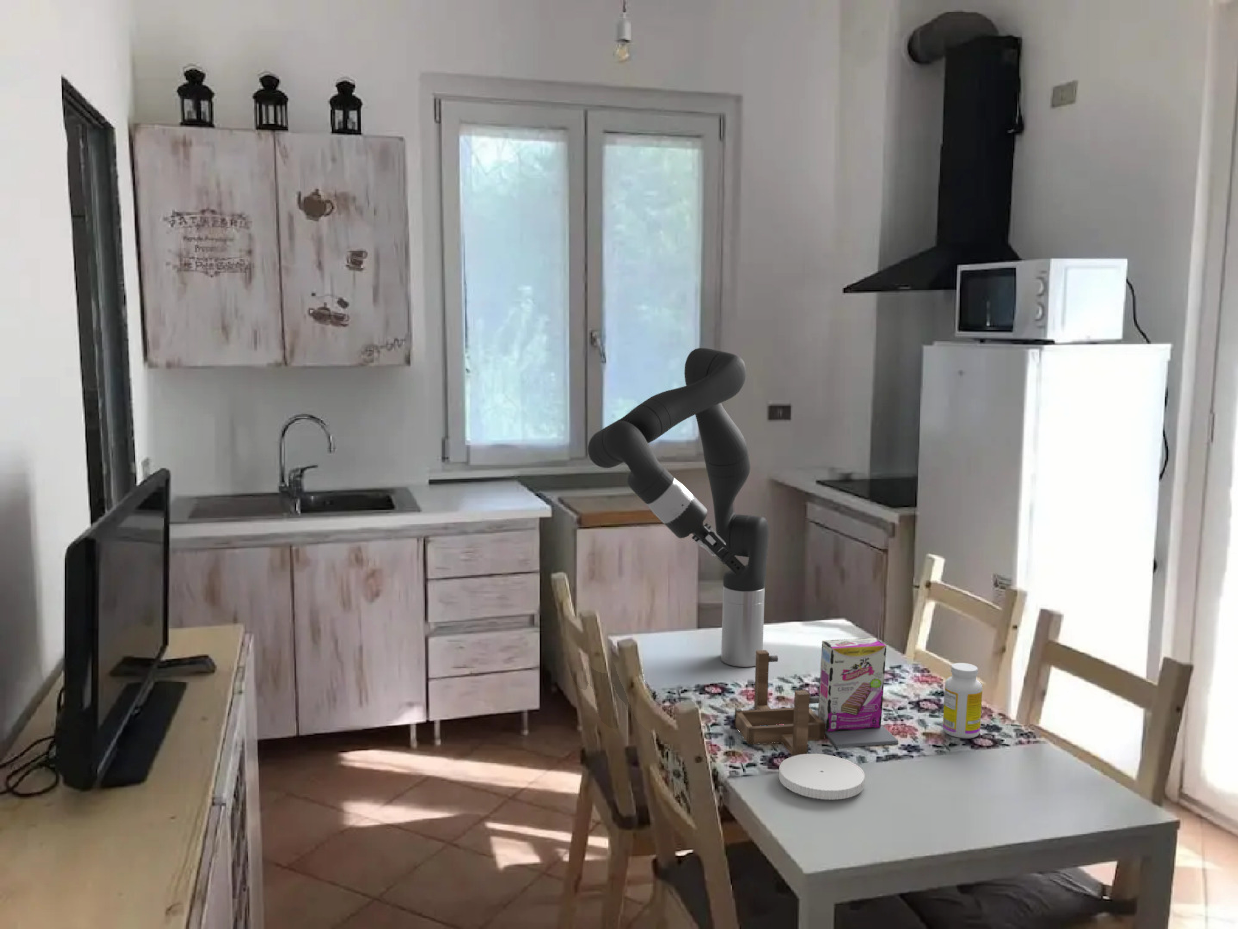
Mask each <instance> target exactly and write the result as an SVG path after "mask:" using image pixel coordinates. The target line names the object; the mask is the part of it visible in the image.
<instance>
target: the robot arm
mask: <svg viewBox="0 0 1238 929" xmlns="http://www.w3.org/2000/svg"><path fill="white" fill-rule="evenodd" d="M745 364H746V363H745V362H744V360H743V358H741V357H740V356H738V355H736V354H734V353H732V352H727V351H721V350H716V349H712V348H706V347H698V348H695V349H693V350H691V351H690V352H689V354H688V356H687V357H686V361H685V364H684V373H683V374H684V382H685V385H683V386H681V387H677V388H674V389H669V390H665V391H662V392H660V393H659V392H658V393H656V394H653V395H652V396H649V398H647V399H646V400H644V401H643V402H641V403H639V404H638V405H637V406H635V407H633V409H631V410H630V411H629V412H628V413H627V414H625V415H624V416H623V417H621V418H619V419H618V420H616V421H613V422H612V423H611V424H608V425H607V426H605V427H603V428H602V429H600V430H599V431H597V432H596V433H594V434H593V435H592V436H591V437H590V439H589V441H588V445H587V454H588V457H589V458H590V460H591V462H592V463H593V464H594V465H596V466H597V467H600V468H603V469H611V468H615V467H617V466H619V465H620V464H622V463H624V464H625V465H626V466H627V467H628V469H629V470H630V472H629V474H628V475H627V479H626V480H627V481H626V482H627V485H628V486H629V488H630V489H631V491H632V492H634V493H635V494H636V495H637V496H638V497H639V498H640V499H641V500H642V501H643V502H644V504H645V505H647V508H649V509H650V511H651V512H652V513H653V515H655V516H656V517H657V518H658V519H659V521H661V522H662V523H663V525H664V526H666V527H667V528H668V529H669V530H670V531H671V533H673V535H675V537H677V538H678V539H685V538H687V537H690V535H691V534H692V535H693V536H691V539H692V540H693V541H694V542H695V543H696V544H697V545H698V546H699V547H701V548H703V549H705V550H706V551H707V552H708V553H709V554H710V555H711V556H712V557H716V558H717V559H718V560H719V561H720V562H721V563H722V564H723V565H726V567H728V569H729V570H727V571H726V572H725V573H724V574H723V579H722V580H723V581H722V618H721V621H722V624H721V647H720V649H721V650H720V651H721V653H720V656H721V657H720V660H721V662H723V663H724V664H726V665H730V666H734V667H740V668H741V667H742V668H743V667H744V668H748V667H754V666H755V667H756V650H764V649H763V647H764V627H765V626H764V623H765V622H764V621H765V620H764V619H765V618H764V617H765V594H766V593H765V588H766V576H767V575H766V574H767V564H768V563H767V562H768V551H769V550H768V548H769V538H770V536H769V535H770V527H769V523H768V521H767V519H766V518H765V517H763V516H759V515H748V514H740V513H737V512H735V511H734V501H735V500H736V497H737V495H738V494H739V492H740V491H741V489H742V488H743V486H744V485H745V483H746V482H747V480H748V477H749V475H750V472H751V462H750V455H749V450H748V445H747V441H746V439H745V437H744V435H743V433H742V431H741V430H740V428H738V426H737V424H736V423H735V421H734V420H732V418H731V416H730V415H729V414H728V412H727V411H726V410H725V407H724V406H723V404H722V403H723V402H726V401H728V400H730V399H732V398H734V397H735V396H736V395H738V394H739V392H740V391H741V390H742V388H743V386H744V384H745V381H746V377H747V369H746V365H745ZM693 416H695V419H696V422H697V427H698V431H699V437H700V440H701V446H702V450H703V451H702V452H703V457H704V458H703V459H704V463H705V468H706V472H707V473H706V474H707V477H708V478H707V479H708V481H709V487H710V492H711V497H712V502H713V512H714V520H715V521H714V522H715V523H714V524H715V529H714V528H713V527H712V526H711V525H709V524H708V523H707V522H705V520H706V518H707V516H708V509H707V507H706V506H705V505H704V504H703V503H702V502H701V501H700V500H699V499H698V498H697V497H696V496H695V495H694V494H693V493H692V492H691V491H690V489H688V488H687V487H686V486H685V484H683V483H682V482H681V481H679V480H678V479H677V478H675V477H674V475H672V473H670V472H669V471H668V470H667V468H665V467H664V465H663V464H661V462H659V460H658V459H657V457H656V455H655V453H654V451H653V450H652V447H651V446H650V443H652V442H654V441H656V440H657V439H659V438H660V437H661V436H663V435H664V434H665V433H667V432H668V431H670V430H671V429H672V428H674V427H675V426H677V425H678V424H680V423H682V422H683V421H685V420H687V419H689V418H690V417H693ZM704 522H705V523H704ZM738 557H744V558H748V561H747V564H746V565H745V564H743V562H741V561H740V560H739V559H738Z"/></svg>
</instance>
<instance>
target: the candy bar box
mask: <svg viewBox="0 0 1238 929" xmlns="http://www.w3.org/2000/svg"><path fill="white" fill-rule="evenodd" d="M886 655H887V644H885V643H883V642H882V641H881V640H879V639H878V638H876V637H868V638H866V637H865V638H849V639H845V638H844V639H829V640H825V639H824V640H822V641H821V659H820V671H819V673H820V674H819V691H818V692H819V693H818V697H819V703H817V707H818V708H817V710H818V717H819V718H820V719H821V720H822V721H823V722H824V723H825V730H826V731H827V732H830V731H844V730H857V729H870V728H881V725H882V717H883V716H882V715H883V703H884V702H883V701H884V684H885V673H886V670H885V669H886V657H887V656H886Z"/></svg>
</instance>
